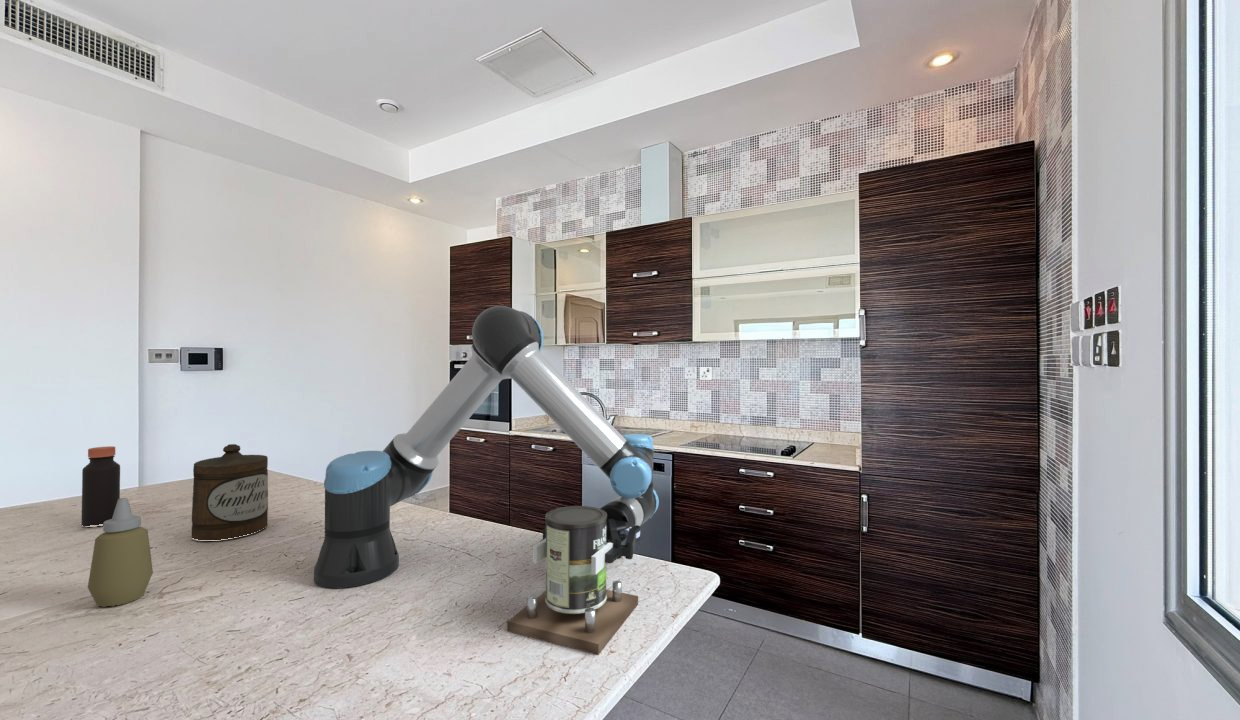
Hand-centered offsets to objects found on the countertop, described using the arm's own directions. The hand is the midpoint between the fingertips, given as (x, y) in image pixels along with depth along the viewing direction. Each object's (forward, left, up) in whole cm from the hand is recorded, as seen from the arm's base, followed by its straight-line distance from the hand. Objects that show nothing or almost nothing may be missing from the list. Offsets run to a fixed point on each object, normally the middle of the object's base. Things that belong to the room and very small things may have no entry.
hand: (563, 560), depth 77 cm
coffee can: (0, +4, -8) cm, 9 cm away
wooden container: (-99, +6, -11) cm, 100 cm away
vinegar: (-137, -4, -11) cm, 137 cm away
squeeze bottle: (-77, -23, -11) cm, 81 cm away
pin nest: (0, +4, -11) cm, 12 cm away
